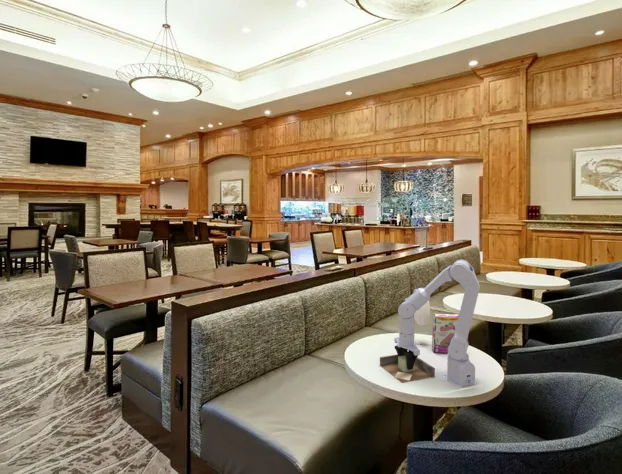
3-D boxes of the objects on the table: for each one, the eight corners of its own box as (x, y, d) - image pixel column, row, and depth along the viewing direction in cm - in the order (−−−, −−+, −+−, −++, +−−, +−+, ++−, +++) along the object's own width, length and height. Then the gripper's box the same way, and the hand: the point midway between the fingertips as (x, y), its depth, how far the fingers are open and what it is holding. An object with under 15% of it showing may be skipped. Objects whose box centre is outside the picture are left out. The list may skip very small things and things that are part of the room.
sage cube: (414, 370, 147) (414, 359, 146) (404, 372, 145) (404, 360, 145) (408, 365, 151) (408, 354, 150) (398, 367, 149) (398, 356, 149)
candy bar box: (434, 353, 165) (434, 316, 163) (431, 349, 170) (432, 313, 168) (460, 354, 164) (461, 317, 162) (457, 350, 169) (458, 313, 167)
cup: (411, 342, 179) (411, 298, 177) (426, 341, 179) (426, 298, 177) (416, 347, 172) (416, 302, 170) (431, 347, 172) (432, 302, 170)
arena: (434, 378, 141) (434, 368, 141) (400, 384, 136) (401, 374, 136) (409, 361, 156) (410, 352, 156) (378, 367, 151) (379, 357, 151)
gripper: (387, 328, 152) (387, 360, 153) (408, 339, 139) (408, 375, 140) (403, 326, 155) (402, 358, 156) (424, 337, 141) (424, 373, 142)
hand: (406, 366), depth 148 cm, fingers closed on sage cube, 4 cm apart
